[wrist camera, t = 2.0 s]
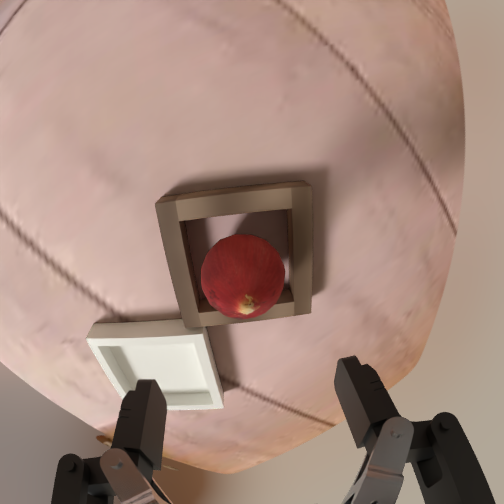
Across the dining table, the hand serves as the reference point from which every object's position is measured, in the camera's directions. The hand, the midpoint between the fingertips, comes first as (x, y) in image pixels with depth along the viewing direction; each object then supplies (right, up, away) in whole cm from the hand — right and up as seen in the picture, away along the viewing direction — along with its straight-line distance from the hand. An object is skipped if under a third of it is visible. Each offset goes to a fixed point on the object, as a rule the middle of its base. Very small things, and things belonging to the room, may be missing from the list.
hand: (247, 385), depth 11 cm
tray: (-10, -6, +16) cm, 20 cm away
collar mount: (-1, +6, +12) cm, 13 cm away
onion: (-1, +6, +12) cm, 13 cm away
